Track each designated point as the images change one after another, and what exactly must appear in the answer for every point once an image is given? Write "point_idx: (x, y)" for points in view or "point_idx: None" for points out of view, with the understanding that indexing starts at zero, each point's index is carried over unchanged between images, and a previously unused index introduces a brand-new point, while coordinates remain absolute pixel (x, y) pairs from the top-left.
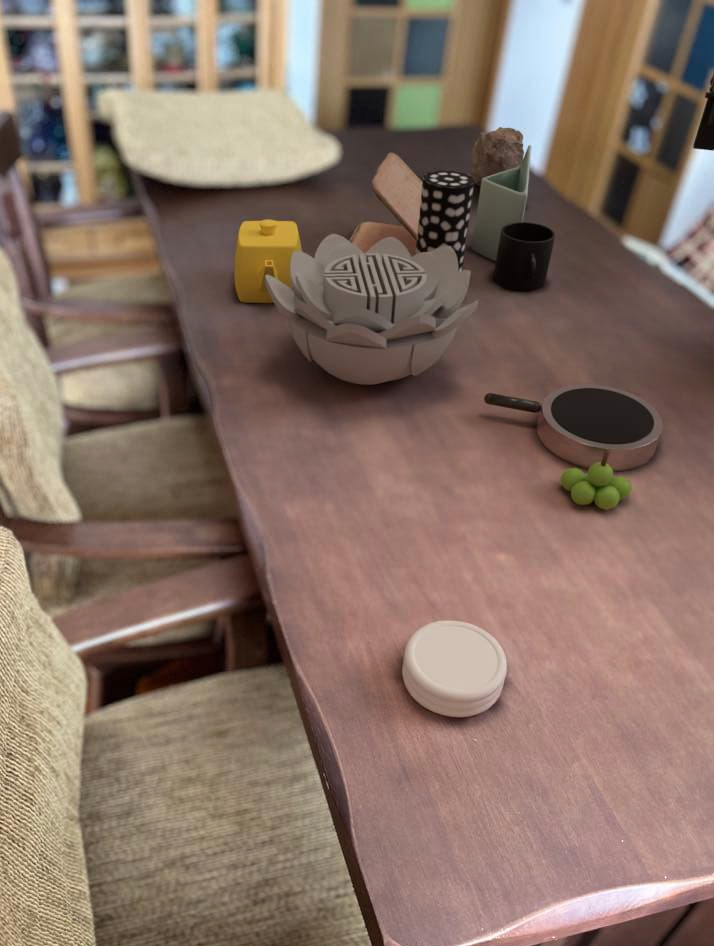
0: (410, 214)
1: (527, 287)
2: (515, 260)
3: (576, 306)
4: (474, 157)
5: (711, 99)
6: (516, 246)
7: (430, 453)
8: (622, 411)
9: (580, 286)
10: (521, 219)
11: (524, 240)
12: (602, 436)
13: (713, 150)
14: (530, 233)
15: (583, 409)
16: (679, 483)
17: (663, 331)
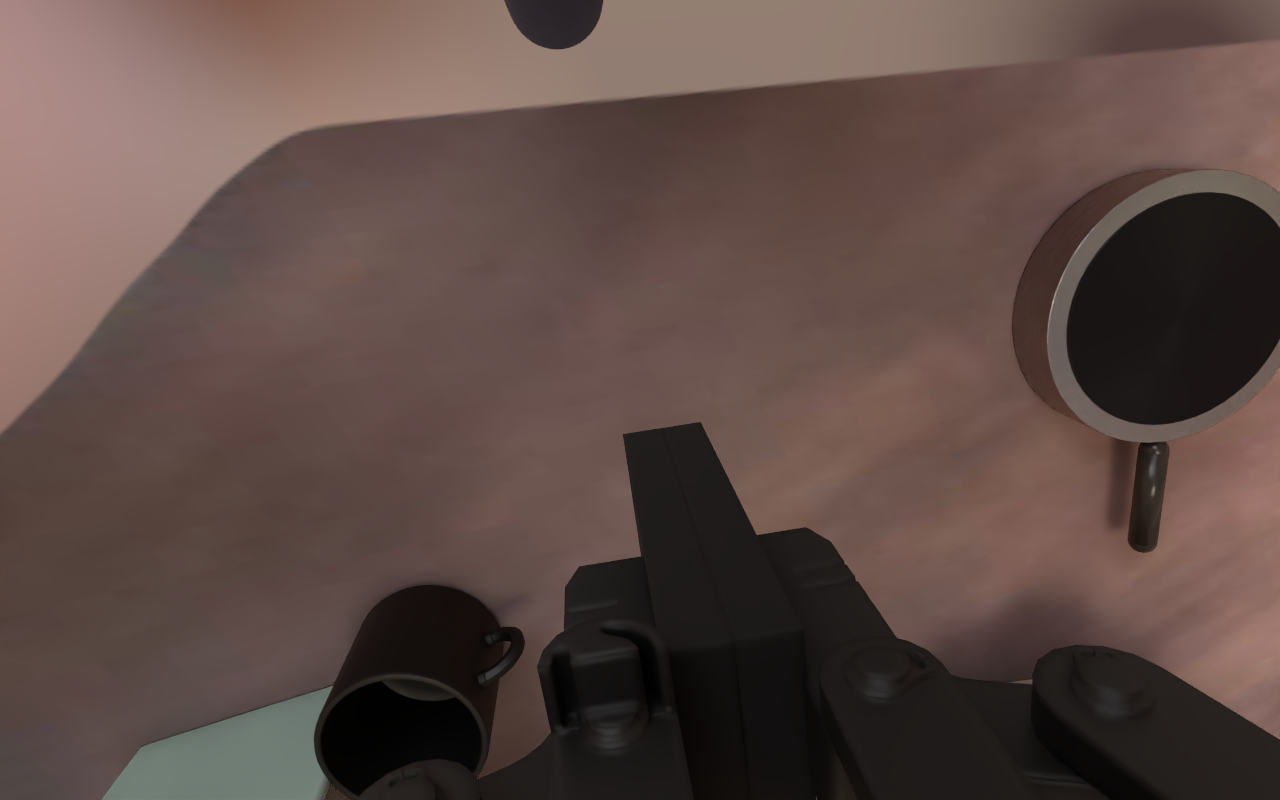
0: None
1: (489, 616)
2: (495, 702)
3: (511, 478)
4: None
5: (810, 789)
6: (490, 736)
7: (1260, 567)
8: (1158, 272)
9: (373, 497)
10: (324, 790)
11: (344, 724)
12: (1272, 295)
13: (701, 424)
14: (332, 730)
15: (1170, 356)
16: (1275, 99)
17: (547, 232)
